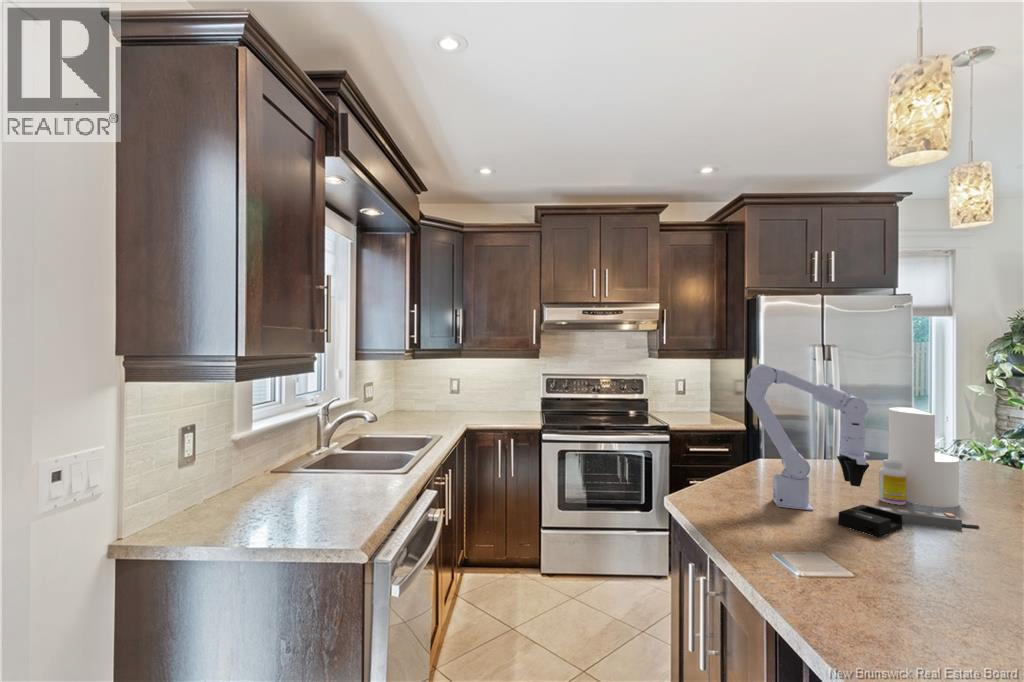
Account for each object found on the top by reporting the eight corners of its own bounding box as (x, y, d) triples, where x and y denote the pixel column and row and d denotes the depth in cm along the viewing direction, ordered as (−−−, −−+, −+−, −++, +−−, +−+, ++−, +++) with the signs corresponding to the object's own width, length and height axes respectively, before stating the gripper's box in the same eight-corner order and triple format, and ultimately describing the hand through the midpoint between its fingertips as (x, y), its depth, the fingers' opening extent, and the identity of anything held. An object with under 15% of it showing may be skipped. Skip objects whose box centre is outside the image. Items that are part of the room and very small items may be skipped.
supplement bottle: (911, 506, 144) (911, 464, 144) (886, 504, 145) (886, 463, 145) (897, 499, 151) (898, 459, 151) (874, 497, 152) (874, 457, 152)
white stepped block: (899, 502, 147) (900, 413, 147) (880, 487, 163) (880, 406, 163) (970, 510, 141) (971, 417, 141) (943, 493, 157) (944, 409, 157)
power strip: (873, 519, 133) (873, 509, 133) (865, 513, 138) (866, 503, 138) (985, 531, 125) (985, 520, 125) (973, 525, 130) (973, 514, 130)
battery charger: (879, 539, 120) (879, 523, 120) (838, 526, 129) (838, 511, 129) (902, 529, 127) (902, 515, 127) (862, 518, 135) (862, 504, 135)
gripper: (879, 443, 130) (878, 492, 130) (859, 433, 144) (858, 478, 144) (849, 441, 133) (848, 489, 133) (832, 432, 146) (831, 475, 146)
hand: (852, 483), depth 139 cm, fingers open, 4 cm apart
